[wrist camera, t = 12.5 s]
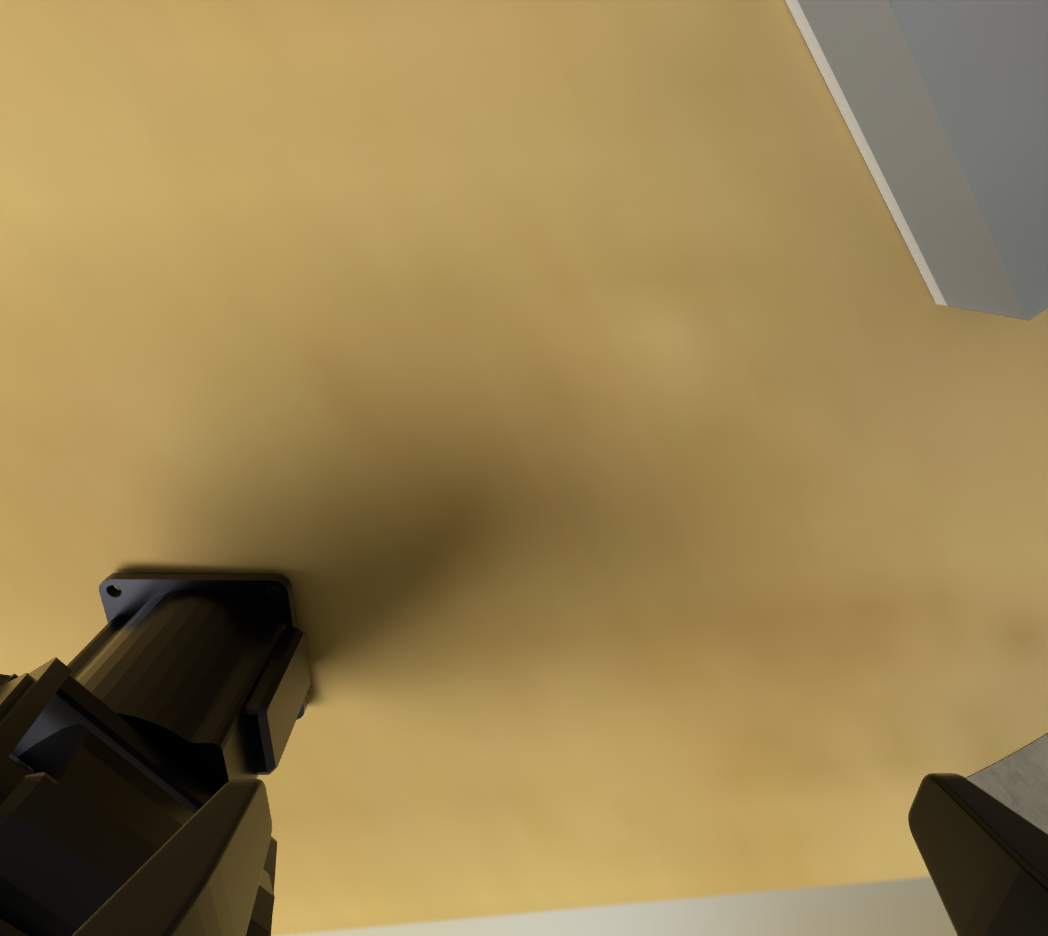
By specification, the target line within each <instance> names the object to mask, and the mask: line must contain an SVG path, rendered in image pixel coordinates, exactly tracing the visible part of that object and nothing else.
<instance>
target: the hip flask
mask: <svg viewBox="0 0 1048 936" xmlns="http://www.w3.org/2000/svg"><path fill="white" fill-rule="evenodd" d="M966 779H968V780H969V781H971V782H972V783H974V784H975V785H976V786H978V787H979V788H981V789H982V790H984V791H985V792H987V793H988V794H990V795H991V796H993V797H994V798H996V799H997V800H998V801H1000V802H1001V803H1003V804H1004V805H1006V806H1007V807H1009V808H1010V809H1012V810H1013V811H1015V812H1016V813H1018V814H1019V815H1020V816H1022V817H1023V818H1025V819H1026V820H1028V821H1029V822H1031V823H1032V824H1034V825H1035V826H1037V827H1038V828H1040V829H1041V830H1042V831H1044V832H1045V833H1047V834H1048V734H1046V735H1044V736H1043V737H1041V738H1039V739H1038V740H1036V741H1034V742H1033V743H1031V744H1029V745H1027V746H1026V747H1024V748H1022V749H1020V750H1019V751H1017V752H1015V753H1013V754H1012V755H1010V756H1008V757H1006V758H1004V759H1002V760H1000V761H999V762H997V763H995V764H993V765H991V766H989V767H987V768H985V769H983V770H981V771H979V772H977V773H975V774H973V775H971V776H969V777H967V778H966Z"/></svg>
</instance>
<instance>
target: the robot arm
mask: <svg viewBox="0 0 1048 936" xmlns="http://www.w3.org/2000/svg"><path fill="white" fill-rule="evenodd" d="M114 586H117V587H119V588H120V589H121V591H120V590H117V589H116V588H115V587H114ZM272 586H274V587H277V588H279V589H280V591H281V592H276V591H274V590H272V588H271V587H272ZM99 592H100V596H101V599H102V603H103V606H104V610H105V613H106V617H107V620H108V624H107V625H106V626H105V627H104V628H103V629H102V630H101V631H100V632H99V633H98V634H97V635H96V637H95V638H94V639H93V640H92V641H91V642H90V643H89V644H88V645H87V646H86V647H85V648H84V649H83V650H82V651H81V652H80V653H79V654H78V655H77V656H76V657H75V658H74V659H73V660H72V661H71V662H70V663H69V664H68V665H67V666H66V665H65V664H63V663H62V662H61V661H60V660H59V659H57V658H56V657H55V658H54V659H52V660H50V661H49V662H47V663H45V664H44V665H42V666H41V667H39V668H37V669H36V670H34V671H32V672H31V673H29V674H28V673H26V674H24V675H21V676H19V677H18V676H17V675H16V674H13V675H11V676H9V675H2V674H0V936H271V924H272V913H273V905H274V880H275V865H276V851H277V841H276V840H275V839H274V838H273V837H271V832H272V820H271V814H270V809H269V803H268V798H267V792H266V787H265V784H264V783H263V781H262V780H259V779H257V777H258V775H268V774H271V773H272V772H273V771H274V770H275V769H276V768H277V766H278V764H279V761H280V759H281V756H282V754H283V751H284V749H285V746H286V744H287V741H288V739H289V736H290V734H291V731H292V729H293V726H294V724H295V722H296V720H297V719H299V718H301V717H302V716H303V714H304V712H305V710H306V707H307V697H306V694H307V692H308V689H309V687H310V684H311V679H310V671H309V664H308V656H307V648H306V640H305V633H304V632H303V631H302V629H301V628H300V627H297V622H296V615H295V607H294V599H293V592H292V586H291V583H290V581H289V580H288V579H287V578H286V577H284V576H282V575H277V574H180V573H114V574H111V575H110V576H108V577H107V578H106V579H105V580H104V581H103V582H102V583H101V584H100V586H99ZM908 820H909V826H910V830H911V833H912V836H913V838H914V840H915V842H916V845H917V847H918V849H919V851H920V853H921V856H922V858H923V860H924V862H925V864H926V867H927V869H928V871H929V873H930V876H931V878H932V880H933V882H934V884H935V887H936V888H937V891H938V893H939V895H940V898H941V900H942V902H943V904H944V906H945V909H946V911H947V913H948V915H949V917H950V920H951V922H952V924H953V926H954V929H955V931H956V933H957V935H958V936H1048V834H1047V833H1045V832H1044V831H1042V830H1041V829H1040V828H1038V827H1037V826H1035V825H1034V824H1032V823H1031V822H1029V821H1028V820H1026V819H1025V818H1023V817H1022V816H1020V815H1019V814H1018V813H1016V812H1015V811H1013V810H1012V809H1010V808H1009V807H1007V806H1006V805H1004V804H1003V803H1001V802H1000V801H998V800H997V799H996V798H994V797H993V796H991V795H990V794H988V793H987V792H985V791H984V790H982V789H981V788H979V787H978V786H976V785H975V784H974V783H972V782H971V781H969V780H968V779H966V778H964V777H963V776H960V775H958V774H952V773H932V774H928V775H926V776H925V777H924V778H923V780H922V782H921V784H920V787H919V789H918V791H917V794H916V796H915V799H914V801H913V803H912V806H911V808H910V811H909V816H908Z"/></svg>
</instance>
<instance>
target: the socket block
mask: <svg viewBox="0 0 1048 936" xmlns="http://www.w3.org/2000/svg"><path fill="white" fill-rule="evenodd" d="M785 1H786V3H787V5H788V7H789V9H790V11H791V13H792V15H793V17H794V19H795V21H796V23H797V25H798V27H799V29H800V31H801V33H802V35H803V37H804V39H805V41H806V43H807V45H808V47H809V49H810V51H811V53H812V55H813V58H814V60H815V62H816V64H817V66H818V68H819V70H820V72H821V74H822V76H823V78H824V80H825V82H826V84H827V86H828V88H829V90H830V92H831V94H832V96H833V98H834V100H835V102H836V104H837V106H838V108H839V110H840V112H841V114H842V116H843V118H844V120H845V122H846V124H847V126H848V128H849V130H850V132H851V134H852V136H853V138H854V140H855V142H856V144H857V146H858V148H859V150H860V152H861V154H862V156H863V158H864V160H865V162H866V164H867V166H868V168H869V170H870V172H871V174H872V176H873V178H874V180H875V182H876V184H877V186H878V188H879V190H880V192H881V194H882V196H883V198H884V200H885V202H886V204H887V206H888V208H889V210H890V212H891V214H892V216H893V218H894V220H895V222H896V224H897V226H898V228H899V230H900V232H901V234H902V236H903V238H904V240H905V242H906V244H907V246H908V248H909V250H910V252H911V254H912V256H913V258H914V260H915V262H916V264H917V266H918V268H919V270H920V272H921V274H922V276H923V278H924V280H925V282H926V285H927V287H928V289H929V291H930V293H931V295H932V297H933V299H934V301H935V303H936V304H939V305H945V306H950V307H956V308H961V309H967V310H973V311H978V312H984V313H989V314H995V315H1001V316H1006V317H1012V318H1017V319H1023V320H1030V319H1032V318H1033V317H1035V316H1036V315H1038V314H1039V313H1040V312H1042V311H1043V310H1045V309H1046V308H1048V0H785Z"/></svg>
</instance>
